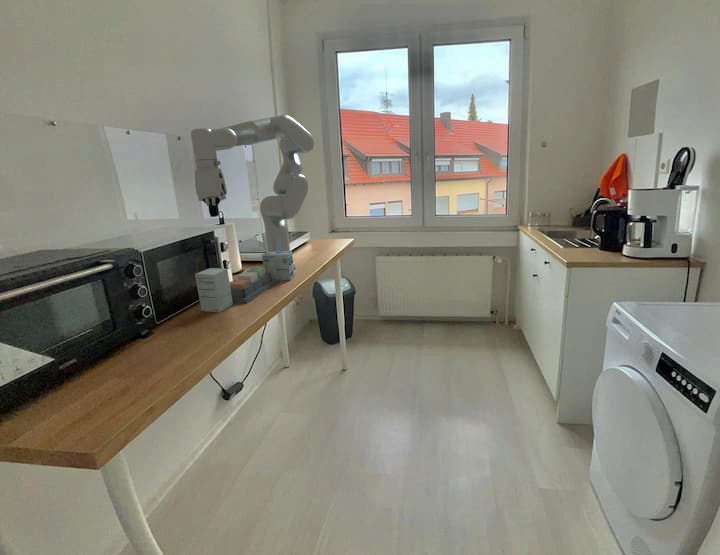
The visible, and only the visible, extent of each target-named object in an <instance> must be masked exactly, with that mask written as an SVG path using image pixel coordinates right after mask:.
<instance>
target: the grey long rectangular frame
mask: <svg viewBox="0 0 720 555" xmlns="http://www.w3.org/2000/svg"><path fill="white" fill-rule="evenodd" d="M276 284H277V281H276V279H272V278H271V273H266V275H264V276H262V277H261V278H258V279H257V280H256V281H254V282H252V283H249V285H248V286H246V287H244V288H243V289H242V288H230V289H231V295H232V301H233V304H248V303H251V302H252V301H253V300H254V299H256V298H257V297H258V296H260V295H262V294H263V293H264V292H266V291H267V290H268V289H270V288H271V287H273V286H274V285H276ZM265 290H266V291H265Z"/></svg>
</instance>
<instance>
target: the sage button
mask: <svg viewBox="0 0 720 555" xmlns="http://www.w3.org/2000/svg"><path fill="white" fill-rule="evenodd" d="M246 272H257V276H258V278H261V277H262V276H264V275H266V270H265V268H263V267H252V268H250V269H248V270H246Z"/></svg>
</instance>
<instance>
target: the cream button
mask: <svg viewBox="0 0 720 555" xmlns="http://www.w3.org/2000/svg"><path fill="white" fill-rule="evenodd" d="M257 279H258V276H257V272H247V271H244V272H243V273H241V274H239V275H237V280H249V283H252V282H254V281H256V280H257Z"/></svg>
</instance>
